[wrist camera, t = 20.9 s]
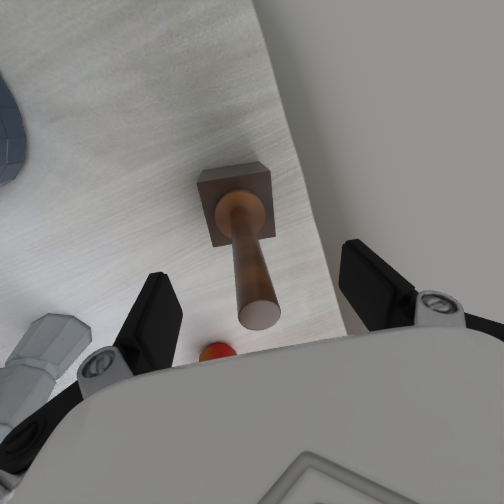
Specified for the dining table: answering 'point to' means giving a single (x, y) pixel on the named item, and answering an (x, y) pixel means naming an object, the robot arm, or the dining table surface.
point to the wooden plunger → (248, 258)
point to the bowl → (10, 137)
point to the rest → (232, 178)
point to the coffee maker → (38, 366)
